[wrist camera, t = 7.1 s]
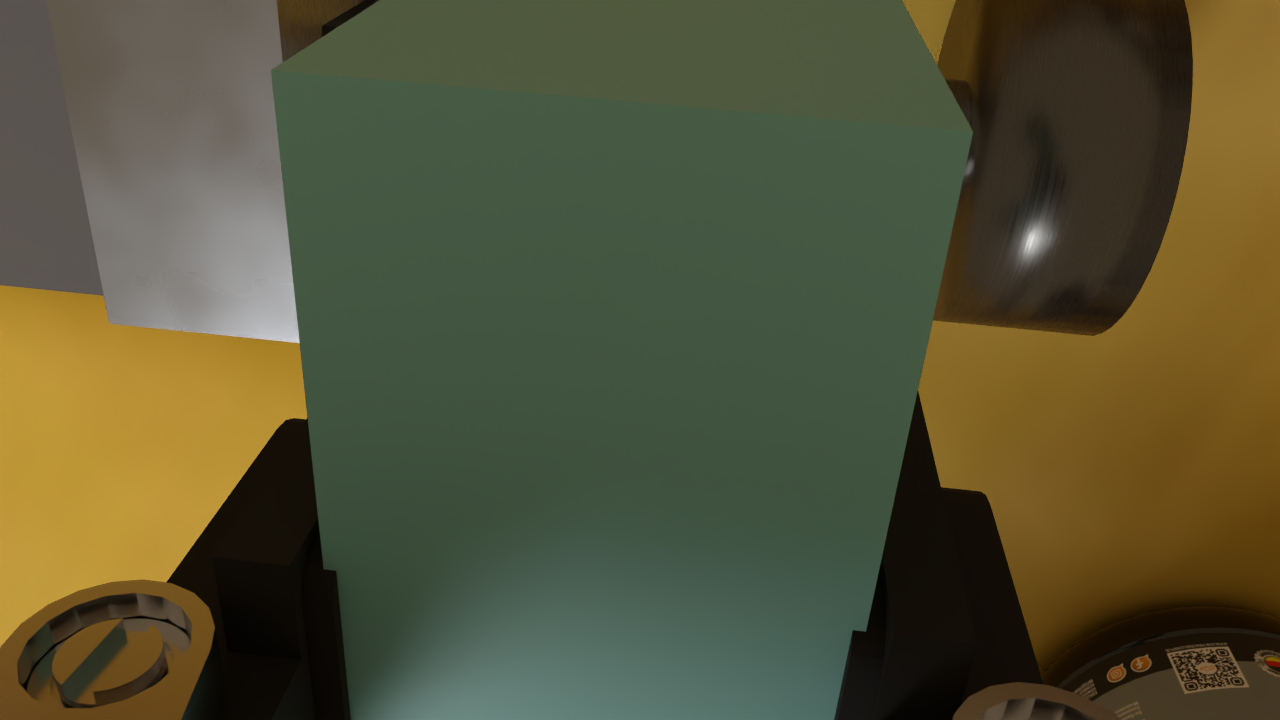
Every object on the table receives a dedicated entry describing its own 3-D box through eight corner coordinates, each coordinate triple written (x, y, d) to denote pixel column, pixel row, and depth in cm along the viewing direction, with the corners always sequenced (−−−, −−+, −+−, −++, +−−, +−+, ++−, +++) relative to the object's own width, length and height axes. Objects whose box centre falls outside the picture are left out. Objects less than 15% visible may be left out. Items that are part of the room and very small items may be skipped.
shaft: (1030, 252, 26) (1112, 402, 20) (253, 179, 27) (104, 300, 21) (1109, -60, 23) (1236, 6, 17) (218, -129, 24) (28, -91, 18)
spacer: (762, 518, 18) (759, 1128, 10) (548, 494, 18) (376, 1074, 10) (849, -95, 13) (974, 131, 5) (561, -117, 13) (271, 70, 6)
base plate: (511, 319, 31) (504, 336, 30) (-27, 265, 32) (-49, 280, 31) (514, -347, 23) (505, -351, 23) (-196, -392, 24) (-231, -398, 23)
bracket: (428, 192, 28) (309, 343, 21) (279, 178, 29) (109, 323, 21) (416, -146, 25) (266, -105, 17) (244, -159, 25) (21, -125, 17)
